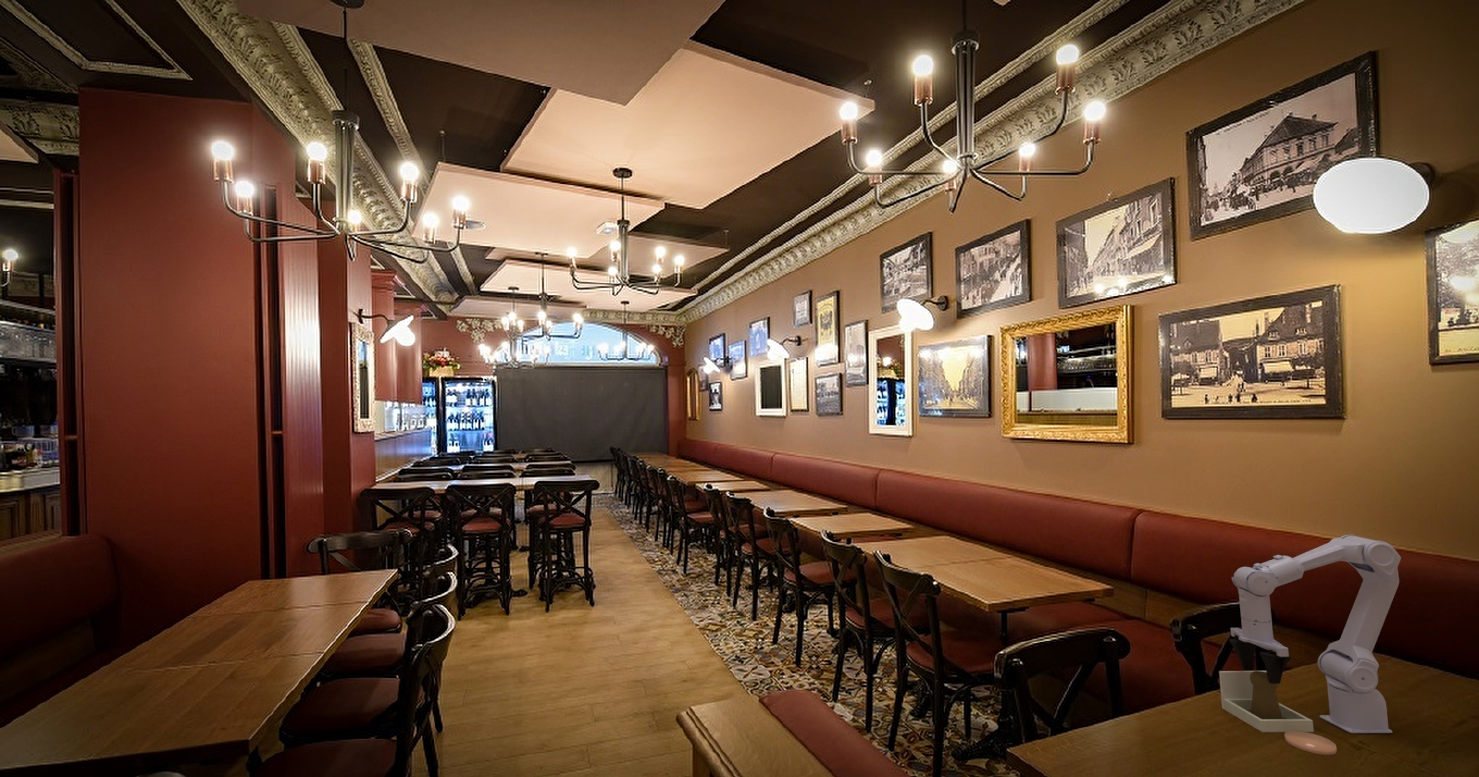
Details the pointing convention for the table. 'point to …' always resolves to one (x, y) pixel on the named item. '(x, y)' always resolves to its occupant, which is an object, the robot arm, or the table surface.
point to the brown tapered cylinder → (1264, 697)
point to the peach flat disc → (1310, 742)
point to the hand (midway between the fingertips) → (1261, 676)
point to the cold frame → (1240, 702)
